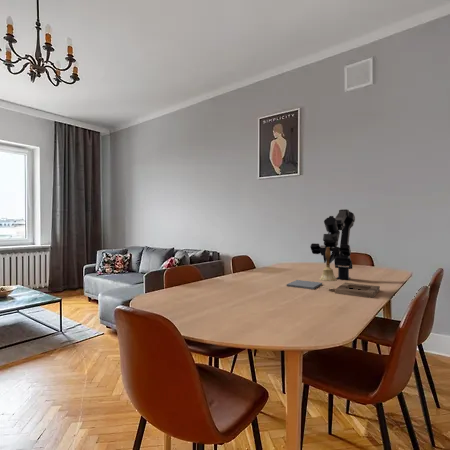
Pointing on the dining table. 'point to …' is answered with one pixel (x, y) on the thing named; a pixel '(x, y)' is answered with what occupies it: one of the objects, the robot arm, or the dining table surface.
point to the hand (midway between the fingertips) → (327, 262)
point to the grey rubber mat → (304, 284)
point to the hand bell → (328, 268)
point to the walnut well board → (345, 290)
